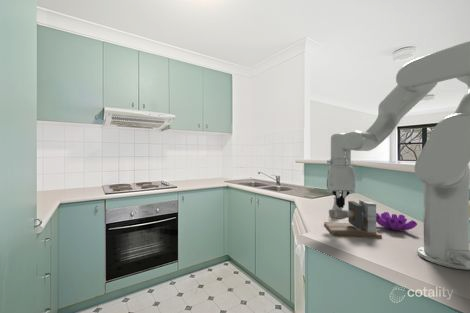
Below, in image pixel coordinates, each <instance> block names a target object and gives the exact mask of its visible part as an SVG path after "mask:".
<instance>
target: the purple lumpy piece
mask: <svg viewBox="0 0 470 313" xmlns="http://www.w3.org/2000/svg"><path fill="white" fill-rule="evenodd" d="M407 220H408V219H407V218H406V216H405V215H404V214H399V215H397V213H392V214H390V213H389V212H388V211H387V212H386V211H385V212H382V213H378V212H376V224H378V225H379V226H381V227H384V228H385V229H389V230H394V231H410V230H412V229H414V228H416V227H417V226H418V222H416V221H415V220H410V221H408V222H407Z"/></svg>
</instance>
